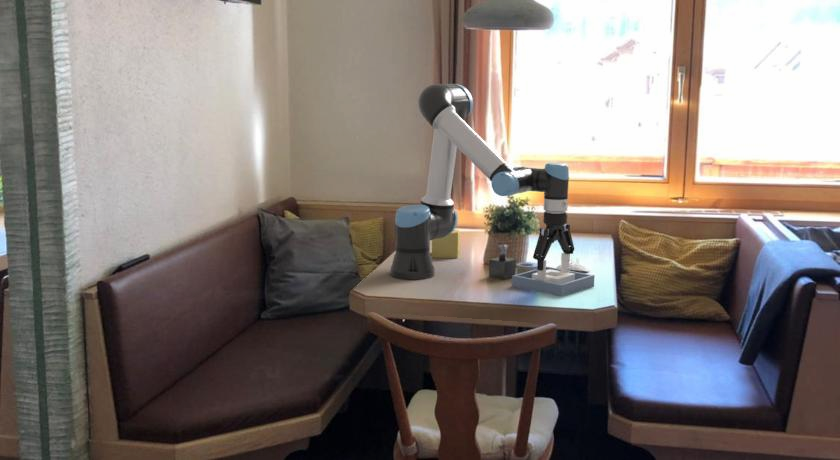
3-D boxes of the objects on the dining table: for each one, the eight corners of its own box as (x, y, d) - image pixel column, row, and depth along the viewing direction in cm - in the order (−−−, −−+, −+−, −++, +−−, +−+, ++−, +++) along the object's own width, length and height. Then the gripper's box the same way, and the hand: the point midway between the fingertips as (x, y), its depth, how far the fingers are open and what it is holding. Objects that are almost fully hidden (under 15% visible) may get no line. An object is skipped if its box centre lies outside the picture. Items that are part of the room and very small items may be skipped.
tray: (561, 296, 267) (561, 285, 266) (511, 286, 280) (512, 275, 279) (594, 285, 281) (594, 275, 280) (545, 276, 293) (545, 266, 293)
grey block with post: (503, 279, 288) (504, 248, 286) (488, 276, 293) (489, 245, 291) (515, 276, 293) (516, 245, 291) (500, 273, 297) (501, 242, 295)
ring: (557, 288, 273) (557, 279, 272) (526, 282, 281) (526, 273, 280) (574, 282, 280) (575, 273, 280) (544, 276, 288) (544, 268, 288)
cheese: (459, 253, 332) (460, 227, 330) (458, 259, 321) (458, 232, 319) (433, 252, 333) (433, 227, 331) (430, 258, 322) (430, 232, 320)
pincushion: (590, 271, 303) (591, 255, 302) (588, 274, 297) (589, 258, 296) (556, 268, 306) (556, 253, 305) (553, 272, 301) (554, 256, 300)
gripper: (542, 217, 264) (540, 284, 268) (586, 208, 282) (584, 272, 286) (522, 214, 269) (521, 281, 273) (567, 206, 287) (565, 268, 291)
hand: (553, 276), depth 280 cm, fingers open, 13 cm apart
